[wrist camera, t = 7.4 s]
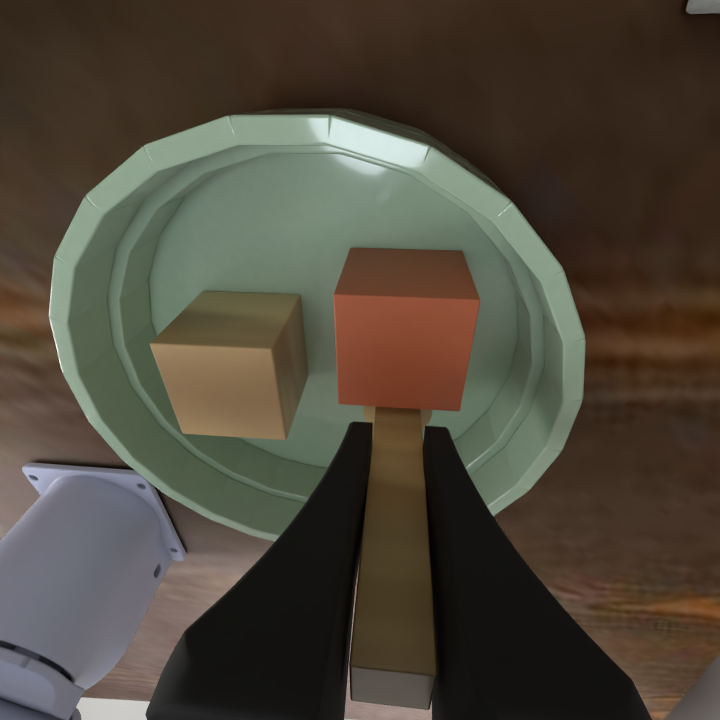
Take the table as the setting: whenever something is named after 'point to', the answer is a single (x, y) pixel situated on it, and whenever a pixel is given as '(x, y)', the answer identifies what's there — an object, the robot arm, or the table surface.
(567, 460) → the table surface
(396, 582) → the muddler
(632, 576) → the table surface
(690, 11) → the small box
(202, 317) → the maple block
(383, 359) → the rust block
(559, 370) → the bowl
